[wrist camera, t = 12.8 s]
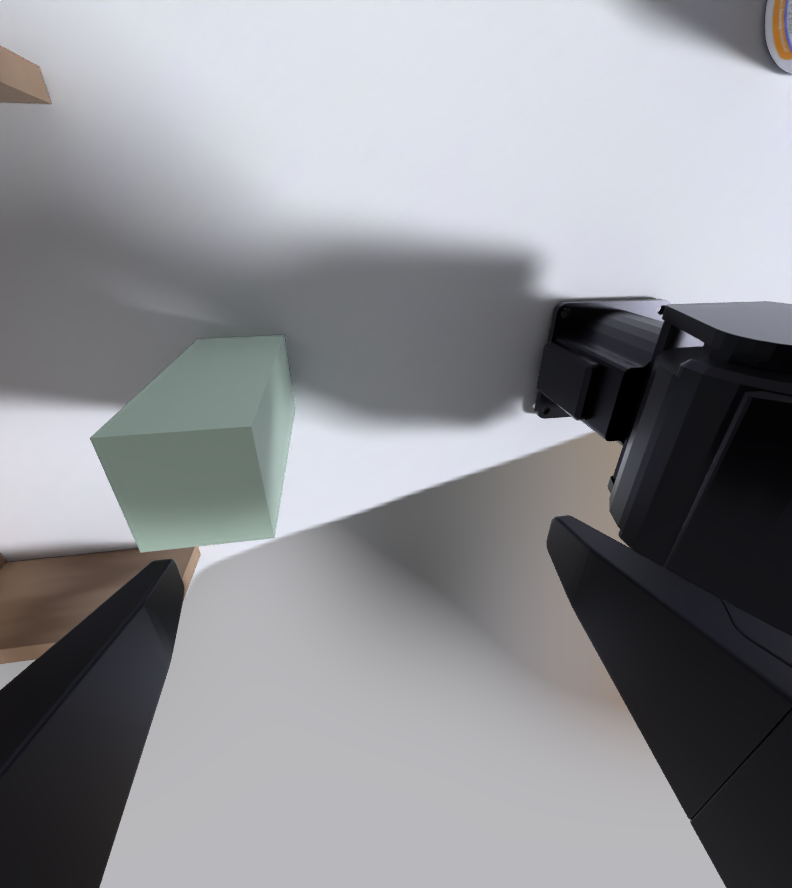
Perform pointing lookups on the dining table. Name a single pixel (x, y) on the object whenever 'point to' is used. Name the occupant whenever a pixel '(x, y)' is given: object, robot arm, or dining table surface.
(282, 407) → the sage block
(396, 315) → the dining table surface
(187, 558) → the walnut u-shaped frame
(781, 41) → the pill bottle
